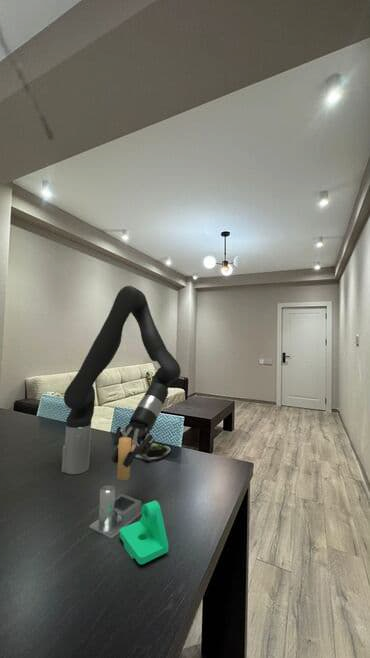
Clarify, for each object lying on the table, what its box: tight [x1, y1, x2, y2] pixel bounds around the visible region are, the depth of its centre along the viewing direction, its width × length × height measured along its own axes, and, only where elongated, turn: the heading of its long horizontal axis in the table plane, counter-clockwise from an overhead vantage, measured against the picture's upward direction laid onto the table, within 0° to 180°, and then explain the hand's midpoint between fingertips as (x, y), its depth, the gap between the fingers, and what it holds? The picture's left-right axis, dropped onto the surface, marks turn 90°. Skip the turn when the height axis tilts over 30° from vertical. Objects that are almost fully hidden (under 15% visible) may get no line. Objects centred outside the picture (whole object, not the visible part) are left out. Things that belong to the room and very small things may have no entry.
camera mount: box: [119, 500, 170, 565], centre depth 72 cm, size 12×8×10 cm, turn 37°
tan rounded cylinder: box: [116, 437, 132, 481], centre depth 85 cm, size 4×4×11 cm
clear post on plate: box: [89, 484, 142, 539], centre depth 82 cm, size 12×8×11 cm, turn 151°
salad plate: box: [131, 442, 172, 462], centre depth 130 cm, size 19×18×5 cm
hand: (119, 463), depth 83 cm, fingers closed on tan rounded cylinder, 3 cm apart
